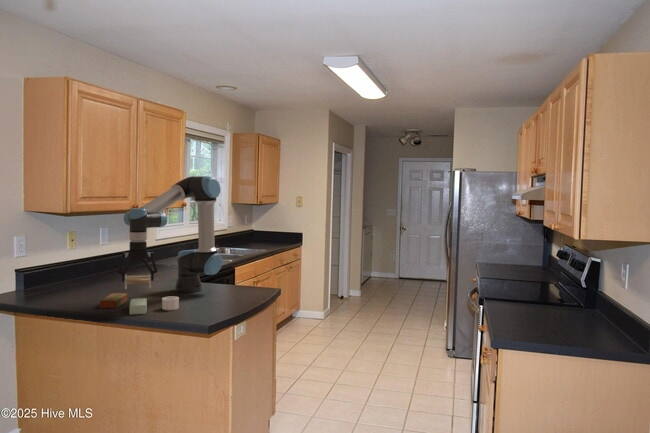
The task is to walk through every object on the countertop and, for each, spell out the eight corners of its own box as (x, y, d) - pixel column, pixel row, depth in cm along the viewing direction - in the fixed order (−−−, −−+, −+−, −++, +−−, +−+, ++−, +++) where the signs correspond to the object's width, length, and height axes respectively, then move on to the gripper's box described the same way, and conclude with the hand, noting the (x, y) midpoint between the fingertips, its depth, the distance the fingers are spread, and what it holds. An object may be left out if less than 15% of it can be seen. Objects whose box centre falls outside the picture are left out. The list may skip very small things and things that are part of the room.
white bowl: (162, 307, 241) (162, 296, 241) (178, 306, 243) (178, 296, 243) (162, 310, 234) (162, 300, 233) (179, 309, 236) (179, 299, 236)
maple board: (127, 279, 238) (127, 275, 238) (149, 278, 242) (149, 274, 242) (125, 284, 224) (125, 280, 224) (148, 283, 227) (148, 279, 227)
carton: (127, 301, 254) (127, 293, 254) (117, 308, 238) (117, 299, 238) (110, 301, 253) (110, 292, 253) (99, 308, 237) (99, 299, 237)
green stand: (131, 307, 240) (131, 298, 240) (146, 306, 242) (146, 298, 242) (129, 314, 226) (129, 305, 225) (145, 313, 228) (145, 305, 228)
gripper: (111, 242, 225) (111, 290, 226) (163, 241, 232) (163, 288, 233) (112, 240, 232) (112, 287, 233) (163, 240, 239) (163, 285, 240)
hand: (138, 288), depth 233 cm, fingers closed on maple board, 10 cm apart
